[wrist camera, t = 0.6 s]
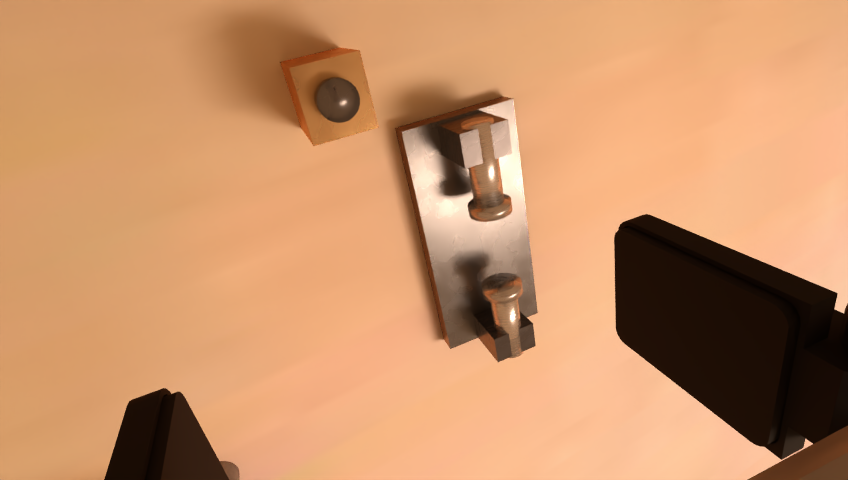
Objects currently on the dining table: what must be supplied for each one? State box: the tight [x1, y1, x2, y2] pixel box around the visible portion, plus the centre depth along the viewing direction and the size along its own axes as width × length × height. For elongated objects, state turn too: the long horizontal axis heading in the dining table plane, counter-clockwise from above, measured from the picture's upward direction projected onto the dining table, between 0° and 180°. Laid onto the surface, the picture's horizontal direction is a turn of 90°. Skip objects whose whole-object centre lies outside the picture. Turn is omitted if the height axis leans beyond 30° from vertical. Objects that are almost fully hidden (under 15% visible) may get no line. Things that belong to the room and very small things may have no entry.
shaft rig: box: [396, 97, 538, 362], centre depth 38 cm, size 20×9×6 cm, turn 12°
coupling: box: [280, 48, 378, 146], centre depth 30 cm, size 4×4×7 cm
